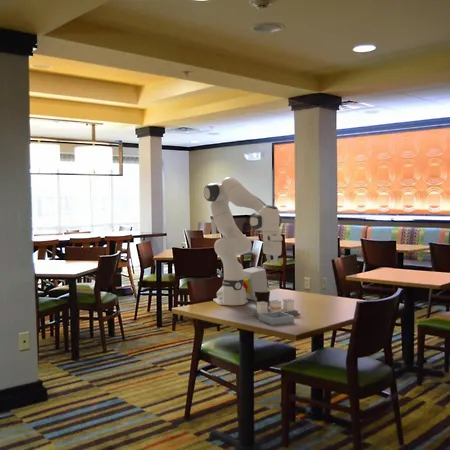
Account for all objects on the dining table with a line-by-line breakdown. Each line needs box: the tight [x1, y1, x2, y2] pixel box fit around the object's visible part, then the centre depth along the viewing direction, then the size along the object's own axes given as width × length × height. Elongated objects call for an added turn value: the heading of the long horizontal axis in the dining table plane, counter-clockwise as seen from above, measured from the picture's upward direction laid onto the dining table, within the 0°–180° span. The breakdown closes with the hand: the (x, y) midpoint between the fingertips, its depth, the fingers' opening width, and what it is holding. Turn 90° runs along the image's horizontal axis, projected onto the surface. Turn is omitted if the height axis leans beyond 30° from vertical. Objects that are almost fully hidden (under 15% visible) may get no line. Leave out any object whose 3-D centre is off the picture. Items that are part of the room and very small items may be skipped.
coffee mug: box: [255, 289, 271, 309], centre depth 295 cm, size 12×9×10 cm
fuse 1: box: [256, 301, 269, 314], centre depth 272 cm, size 4×4×7 cm
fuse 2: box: [282, 298, 295, 311], centre depth 279 cm, size 4×4×7 cm
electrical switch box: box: [243, 265, 269, 302], centre depth 321 cm, size 15×15×20 cm
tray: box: [258, 311, 295, 327], centre depth 262 cm, size 13×13×4 cm
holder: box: [250, 308, 301, 321], centre depth 275 cm, size 8×25×2 cm, turn 116°
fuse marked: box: [269, 299, 282, 312], centre depth 275 cm, size 4×4×7 cm
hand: (272, 263), depth 275 cm, fingers open, 8 cm apart
